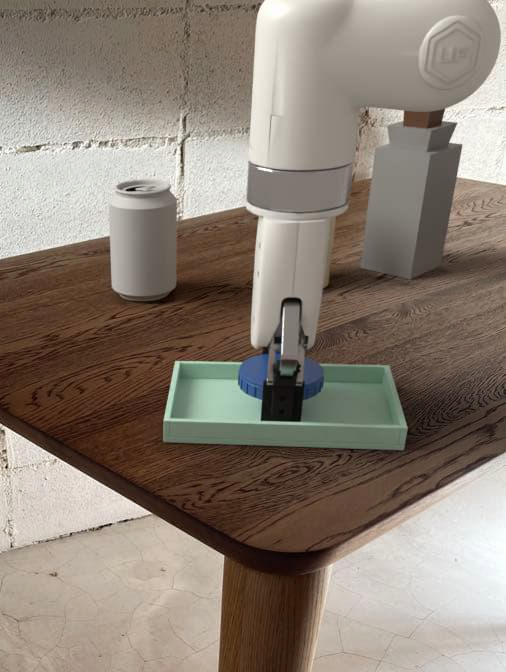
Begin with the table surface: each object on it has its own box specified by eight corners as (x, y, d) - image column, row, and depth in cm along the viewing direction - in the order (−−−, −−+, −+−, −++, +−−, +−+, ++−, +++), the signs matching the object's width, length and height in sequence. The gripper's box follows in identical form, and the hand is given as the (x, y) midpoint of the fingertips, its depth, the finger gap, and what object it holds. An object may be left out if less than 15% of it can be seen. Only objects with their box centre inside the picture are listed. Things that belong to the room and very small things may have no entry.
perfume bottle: (410, 279, 101) (437, 108, 91) (360, 267, 105) (381, 103, 95) (440, 265, 105) (470, 99, 94) (391, 254, 109) (414, 94, 99)
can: (149, 277, 106) (147, 172, 99) (189, 292, 100) (191, 183, 94) (99, 292, 102) (94, 184, 95) (138, 308, 97) (136, 196, 90)
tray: (386, 385, 78) (389, 364, 77) (404, 450, 69) (407, 427, 67) (175, 380, 81) (175, 360, 80) (163, 442, 71) (163, 420, 70)
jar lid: (236, 401, 71) (237, 385, 70) (238, 366, 77) (239, 351, 76) (325, 404, 70) (327, 388, 69) (320, 369, 76) (321, 353, 75)
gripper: (248, 161, 72) (237, 363, 82) (245, 218, 58) (232, 453, 68) (341, 161, 71) (318, 365, 81) (361, 218, 57) (330, 457, 67)
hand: (279, 404), depth 74 cm, fingers closed on jar lid, 6 cm apart
